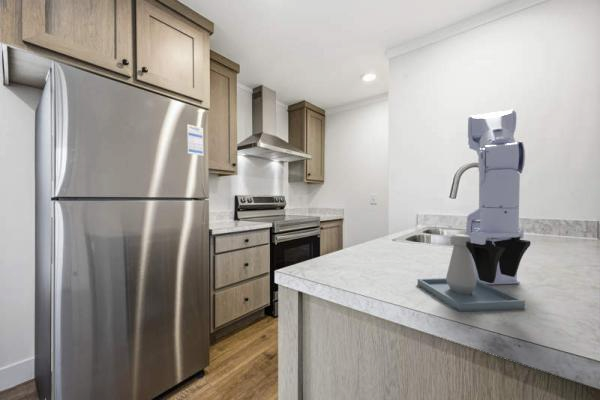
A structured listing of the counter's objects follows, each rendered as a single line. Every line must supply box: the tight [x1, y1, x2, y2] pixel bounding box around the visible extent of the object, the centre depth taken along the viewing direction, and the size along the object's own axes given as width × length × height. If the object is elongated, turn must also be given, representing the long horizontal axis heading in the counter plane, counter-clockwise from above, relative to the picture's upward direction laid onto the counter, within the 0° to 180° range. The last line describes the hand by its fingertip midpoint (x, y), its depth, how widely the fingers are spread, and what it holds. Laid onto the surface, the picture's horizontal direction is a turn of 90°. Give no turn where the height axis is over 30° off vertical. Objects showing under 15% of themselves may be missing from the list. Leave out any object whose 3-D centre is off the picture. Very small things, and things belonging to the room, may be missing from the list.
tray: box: [417, 277, 526, 313], centre depth 55 cm, size 14×14×2 cm
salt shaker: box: [445, 233, 476, 295], centre depth 56 cm, size 6×6×13 cm
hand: (497, 278), depth 47 cm, fingers open, 7 cm apart
